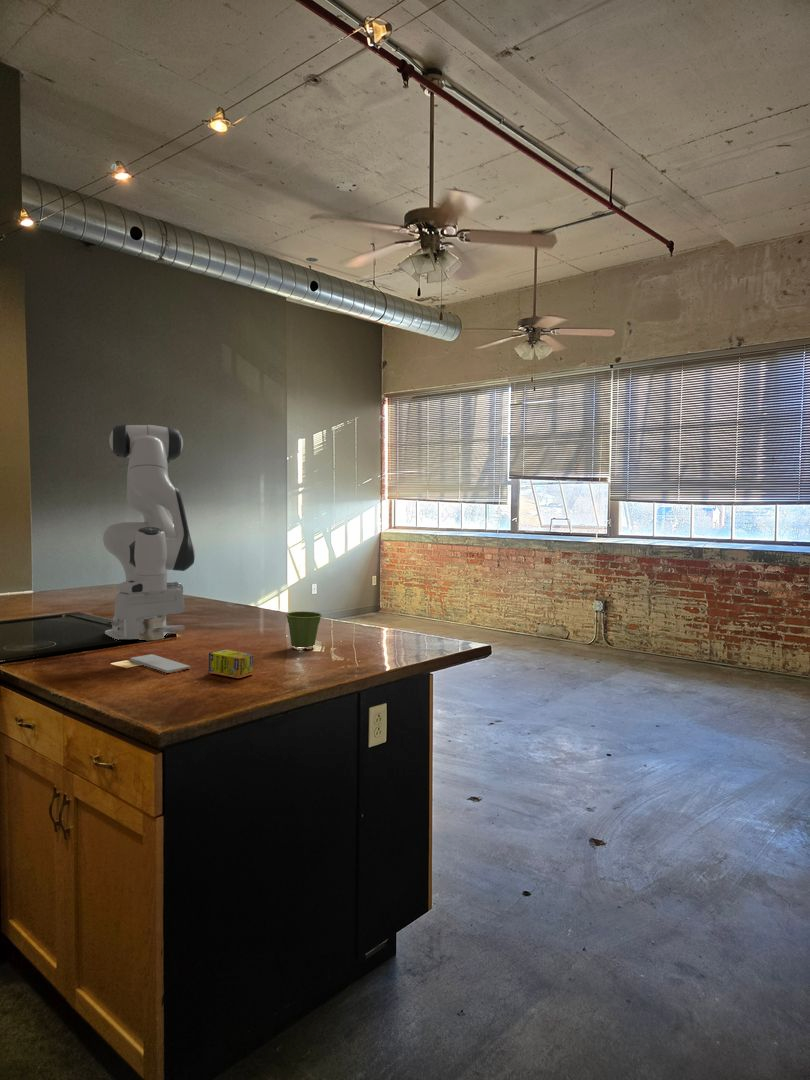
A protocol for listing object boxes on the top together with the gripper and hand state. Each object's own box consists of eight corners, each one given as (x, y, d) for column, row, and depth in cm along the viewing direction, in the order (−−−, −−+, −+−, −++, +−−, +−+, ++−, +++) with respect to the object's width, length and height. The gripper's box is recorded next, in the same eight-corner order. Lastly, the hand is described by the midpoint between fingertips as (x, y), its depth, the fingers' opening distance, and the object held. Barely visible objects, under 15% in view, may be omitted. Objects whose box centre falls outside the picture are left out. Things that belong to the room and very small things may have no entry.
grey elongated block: (135, 640, 199) (134, 619, 199) (151, 638, 203) (149, 617, 203) (169, 640, 189) (167, 618, 189) (185, 638, 193) (183, 616, 193)
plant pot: (318, 653, 217) (319, 617, 217) (281, 652, 218) (282, 616, 217) (324, 645, 229) (324, 611, 228) (288, 644, 229) (289, 610, 229)
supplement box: (208, 652, 188) (238, 658, 183) (223, 648, 193) (253, 653, 188) (207, 674, 188) (238, 680, 183) (223, 669, 194) (253, 675, 188)
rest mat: (129, 661, 200) (129, 657, 200) (152, 657, 205) (152, 654, 205) (167, 674, 187) (167, 670, 187) (190, 669, 193) (190, 666, 192)
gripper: (176, 580, 208) (176, 625, 209) (111, 585, 192) (111, 634, 193) (188, 582, 204) (188, 628, 205) (122, 587, 188) (122, 638, 189)
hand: (150, 631), depth 199 cm, fingers closed on grey elongated block, 3 cm apart
